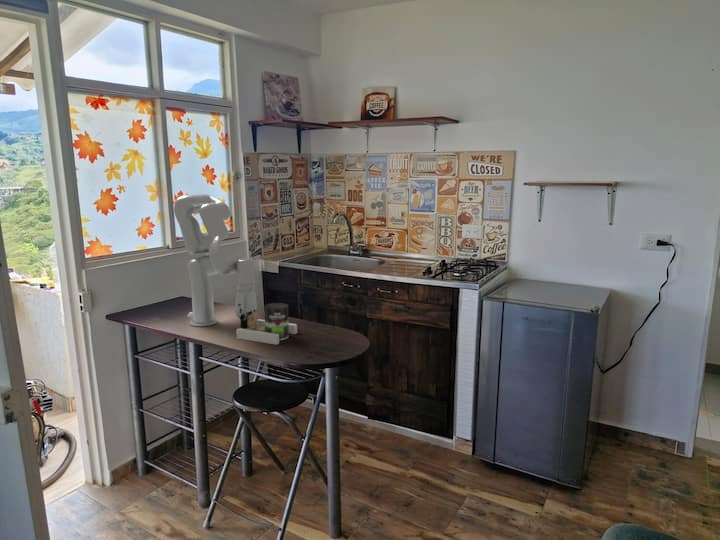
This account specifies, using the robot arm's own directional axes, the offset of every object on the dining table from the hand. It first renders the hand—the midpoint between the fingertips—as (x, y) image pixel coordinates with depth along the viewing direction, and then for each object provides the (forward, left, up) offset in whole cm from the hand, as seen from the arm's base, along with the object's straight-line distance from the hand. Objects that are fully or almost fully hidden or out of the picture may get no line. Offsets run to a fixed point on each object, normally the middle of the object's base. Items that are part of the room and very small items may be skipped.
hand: (247, 326), depth 221 cm
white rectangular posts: (+10, 0, -3) cm, 11 cm away
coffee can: (+15, 0, -3) cm, 16 cm away
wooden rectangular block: (+4, 0, -3) cm, 5 cm away
